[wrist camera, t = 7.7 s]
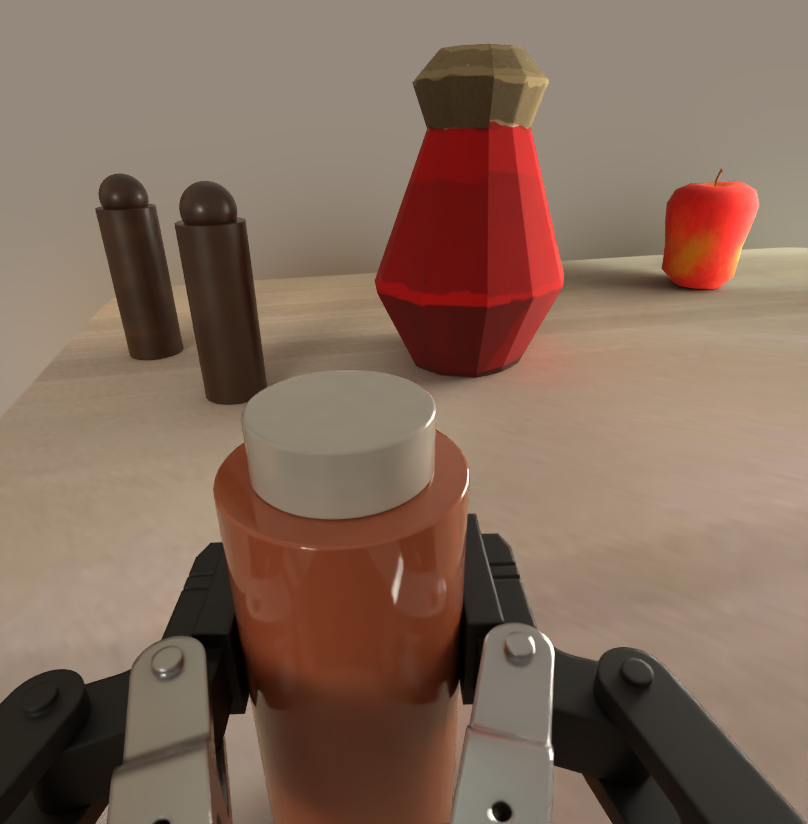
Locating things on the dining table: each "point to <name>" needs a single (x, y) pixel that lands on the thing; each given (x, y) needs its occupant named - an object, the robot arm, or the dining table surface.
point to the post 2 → (220, 293)
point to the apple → (707, 232)
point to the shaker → (349, 595)
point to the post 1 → (138, 268)
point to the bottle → (473, 218)
